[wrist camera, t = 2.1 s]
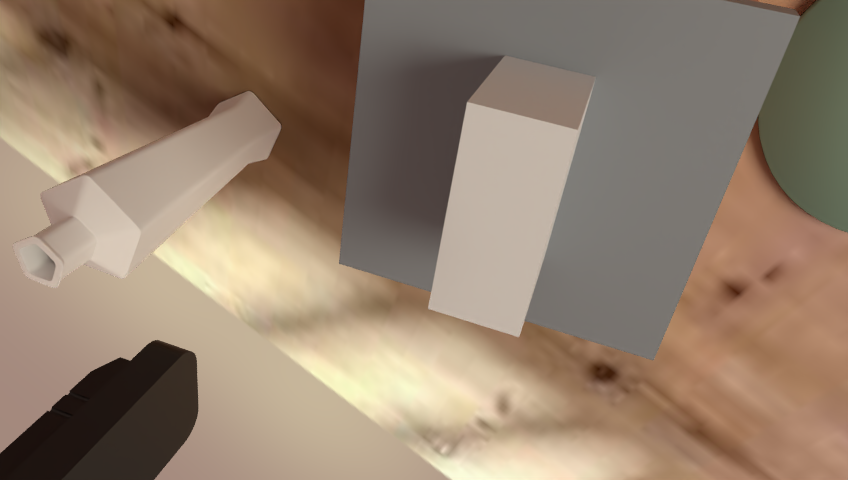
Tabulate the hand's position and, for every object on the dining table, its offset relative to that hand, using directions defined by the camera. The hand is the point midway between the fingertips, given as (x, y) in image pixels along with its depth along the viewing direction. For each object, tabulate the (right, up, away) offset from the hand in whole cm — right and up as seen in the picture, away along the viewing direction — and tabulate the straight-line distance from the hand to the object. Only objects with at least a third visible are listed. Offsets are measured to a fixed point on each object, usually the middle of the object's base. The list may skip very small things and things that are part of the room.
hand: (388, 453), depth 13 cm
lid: (+5, +7, +13) cm, 15 cm away
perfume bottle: (-9, +10, +25) cm, 29 cm away
